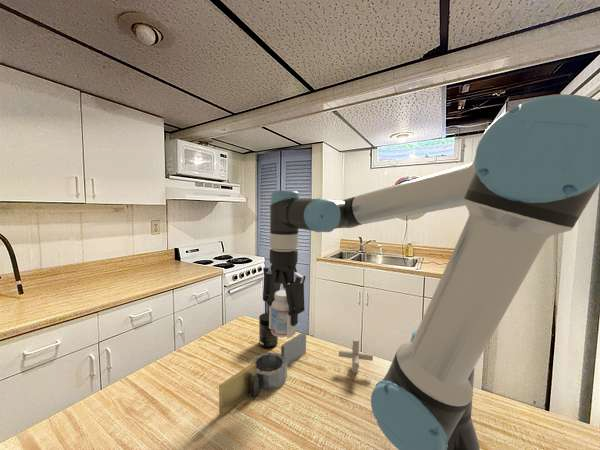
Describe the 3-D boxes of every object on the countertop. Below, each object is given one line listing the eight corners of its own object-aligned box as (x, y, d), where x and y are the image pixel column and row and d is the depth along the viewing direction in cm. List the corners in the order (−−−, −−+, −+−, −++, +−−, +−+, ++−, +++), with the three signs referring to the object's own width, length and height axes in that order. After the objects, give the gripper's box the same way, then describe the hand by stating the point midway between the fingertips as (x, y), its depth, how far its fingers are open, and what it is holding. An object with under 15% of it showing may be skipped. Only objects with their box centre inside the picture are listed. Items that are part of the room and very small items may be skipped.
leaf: (256, 388, 68) (256, 364, 67) (222, 415, 59) (222, 387, 59) (253, 386, 69) (253, 362, 68) (219, 413, 60) (218, 385, 59)
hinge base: (316, 357, 82) (316, 337, 82) (259, 403, 63) (259, 377, 63) (293, 346, 89) (293, 327, 88) (234, 384, 70) (234, 360, 69)
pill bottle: (271, 327, 71) (271, 289, 70) (292, 326, 72) (293, 288, 71) (270, 338, 65) (271, 297, 64) (293, 337, 66) (294, 297, 65)
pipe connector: (373, 385, 70) (374, 351, 69) (337, 379, 72) (338, 346, 71) (370, 363, 80) (371, 333, 79) (339, 359, 82) (340, 329, 81)
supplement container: (281, 343, 91) (281, 316, 90) (267, 352, 86) (267, 322, 85) (269, 337, 95) (269, 311, 94) (255, 344, 90) (255, 316, 89)
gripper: (321, 252, 63) (317, 338, 65) (269, 242, 75) (268, 315, 78) (302, 256, 58) (299, 351, 60) (249, 245, 70) (249, 324, 72)
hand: (281, 331), depth 69 cm, fingers closed on pill bottle, 6 cm apart
